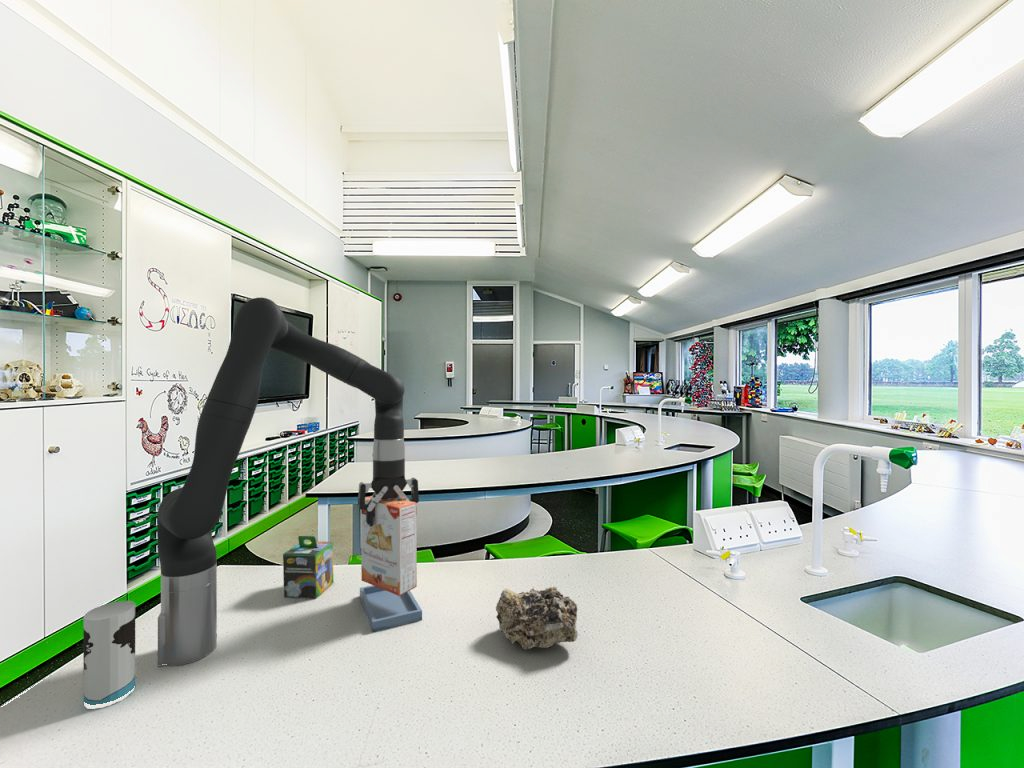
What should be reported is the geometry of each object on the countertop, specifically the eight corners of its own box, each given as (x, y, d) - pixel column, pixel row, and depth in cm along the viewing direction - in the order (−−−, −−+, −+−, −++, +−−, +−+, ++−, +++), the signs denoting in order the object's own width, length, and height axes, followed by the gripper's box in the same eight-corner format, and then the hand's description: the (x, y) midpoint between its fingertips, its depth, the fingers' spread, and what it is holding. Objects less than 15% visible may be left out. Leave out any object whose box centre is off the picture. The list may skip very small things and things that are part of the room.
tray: (372, 632, 98) (372, 622, 98) (359, 596, 115) (359, 587, 115) (422, 620, 103) (422, 610, 103) (403, 587, 120) (403, 579, 120)
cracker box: (359, 582, 110) (359, 497, 110) (379, 573, 115) (379, 493, 115) (398, 597, 103) (398, 506, 103) (417, 587, 108) (417, 501, 108)
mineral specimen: (576, 663, 87) (576, 611, 87) (488, 652, 91) (488, 603, 91) (580, 621, 102) (580, 578, 102) (504, 613, 106) (504, 571, 106)
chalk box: (334, 583, 122) (334, 529, 122) (316, 599, 113) (316, 541, 113) (302, 582, 123) (302, 528, 123) (281, 597, 114) (281, 540, 114)
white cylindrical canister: (144, 681, 82) (144, 599, 82) (115, 708, 75) (115, 619, 75) (104, 684, 81) (104, 601, 81) (72, 711, 74) (72, 621, 74)
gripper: (360, 461, 102) (360, 532, 102) (421, 457, 109) (421, 523, 109) (356, 456, 109) (356, 523, 109) (413, 452, 115) (413, 515, 115)
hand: (388, 523), depth 109 cm, fingers closed on cracker box, 8 cm apart
